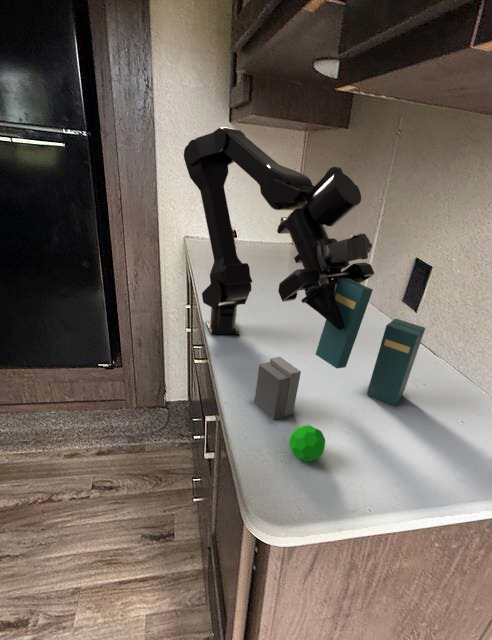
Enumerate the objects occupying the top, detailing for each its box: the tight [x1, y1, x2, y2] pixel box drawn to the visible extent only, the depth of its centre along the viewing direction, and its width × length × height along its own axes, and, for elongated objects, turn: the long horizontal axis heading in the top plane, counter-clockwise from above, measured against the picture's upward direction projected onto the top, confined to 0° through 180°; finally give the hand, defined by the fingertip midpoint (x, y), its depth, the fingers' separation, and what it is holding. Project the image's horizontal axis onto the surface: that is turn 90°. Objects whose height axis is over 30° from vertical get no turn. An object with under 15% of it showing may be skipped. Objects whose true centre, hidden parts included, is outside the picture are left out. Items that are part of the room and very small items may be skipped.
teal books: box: [366, 318, 426, 406], centre depth 72 cm, size 6×5×14 cm
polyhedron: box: [288, 424, 326, 462], centre depth 55 cm, size 5×5×5 cm
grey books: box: [253, 356, 302, 421], centre depth 64 cm, size 6×4×8 cm
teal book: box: [315, 278, 374, 369], centre depth 67 cm, size 6×2×14 cm, turn 37°
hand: (348, 327), depth 66 cm, fingers closed on teal book, 3 cm apart
